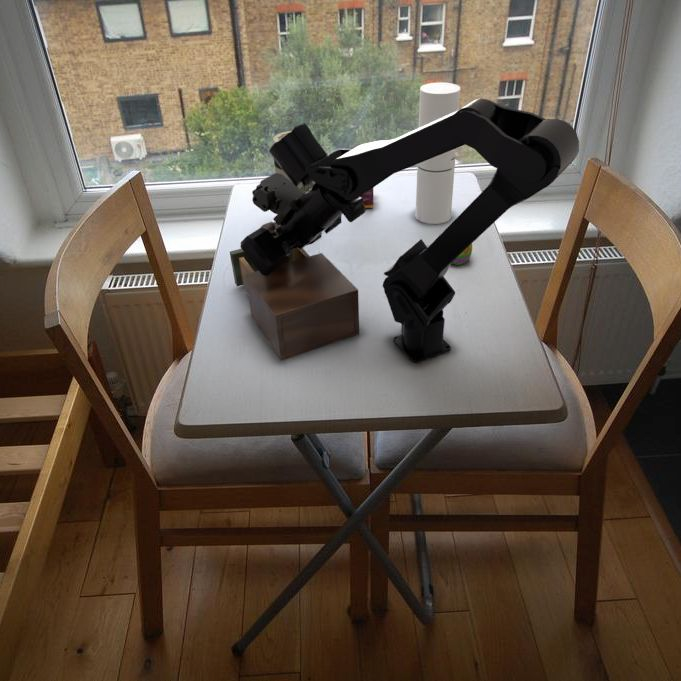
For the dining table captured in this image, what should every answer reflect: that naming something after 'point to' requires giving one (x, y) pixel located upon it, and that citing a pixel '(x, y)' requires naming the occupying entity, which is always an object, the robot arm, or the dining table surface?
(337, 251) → the dining table surface
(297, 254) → the drawer
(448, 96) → the cylindrical container
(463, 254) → the egg
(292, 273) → the cabinet
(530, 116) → the robot arm
